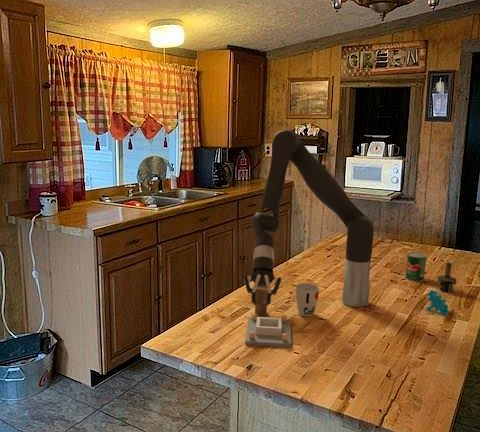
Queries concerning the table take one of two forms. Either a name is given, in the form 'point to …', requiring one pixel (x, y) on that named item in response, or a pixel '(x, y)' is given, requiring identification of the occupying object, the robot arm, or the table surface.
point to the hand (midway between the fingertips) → (261, 304)
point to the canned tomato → (415, 266)
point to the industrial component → (447, 279)
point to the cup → (306, 298)
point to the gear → (437, 303)
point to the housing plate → (268, 331)
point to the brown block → (261, 300)
